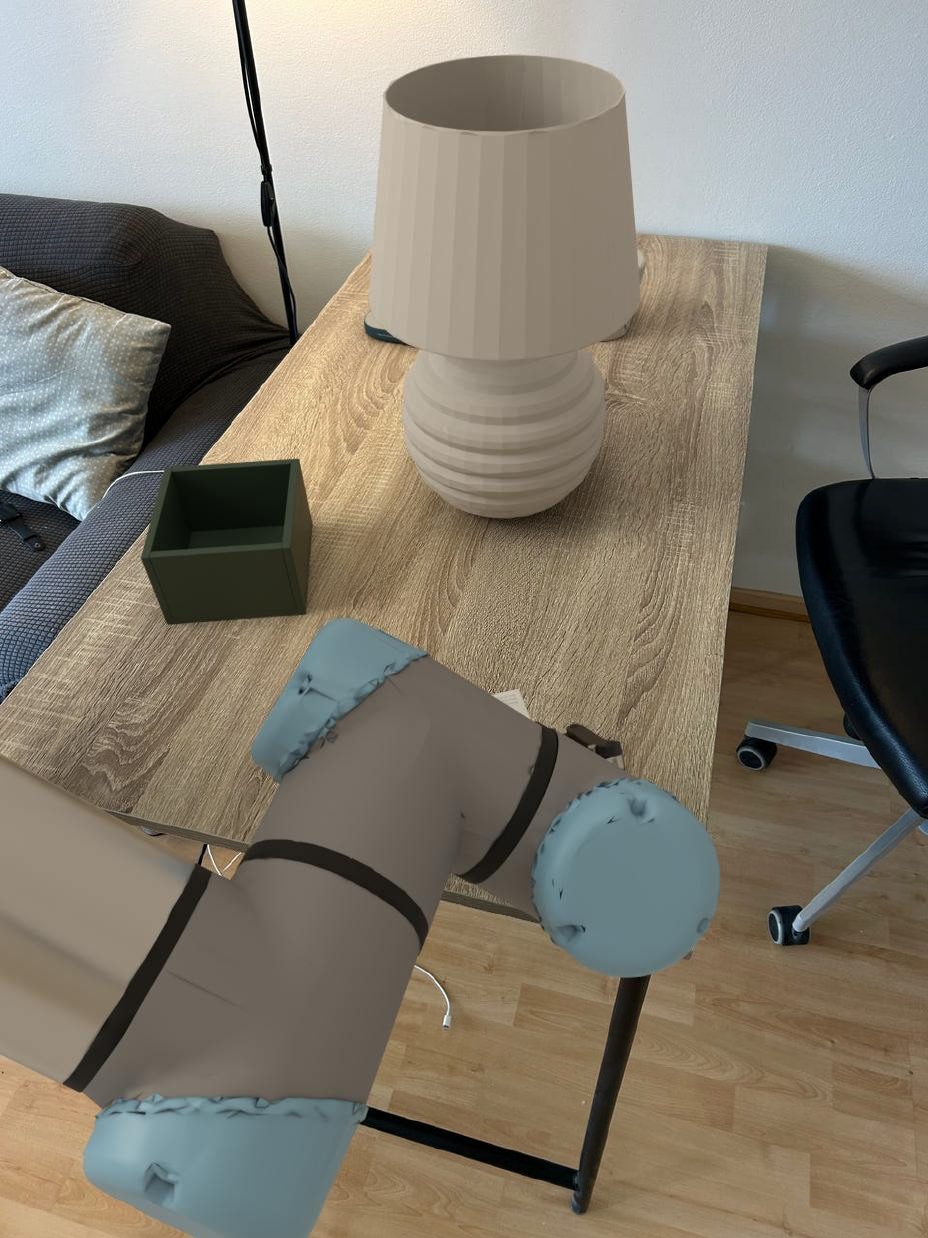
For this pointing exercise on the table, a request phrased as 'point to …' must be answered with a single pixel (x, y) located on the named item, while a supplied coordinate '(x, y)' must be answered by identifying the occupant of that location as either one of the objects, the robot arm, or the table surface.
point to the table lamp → (504, 269)
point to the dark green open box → (230, 541)
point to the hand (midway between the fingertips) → (479, 745)
